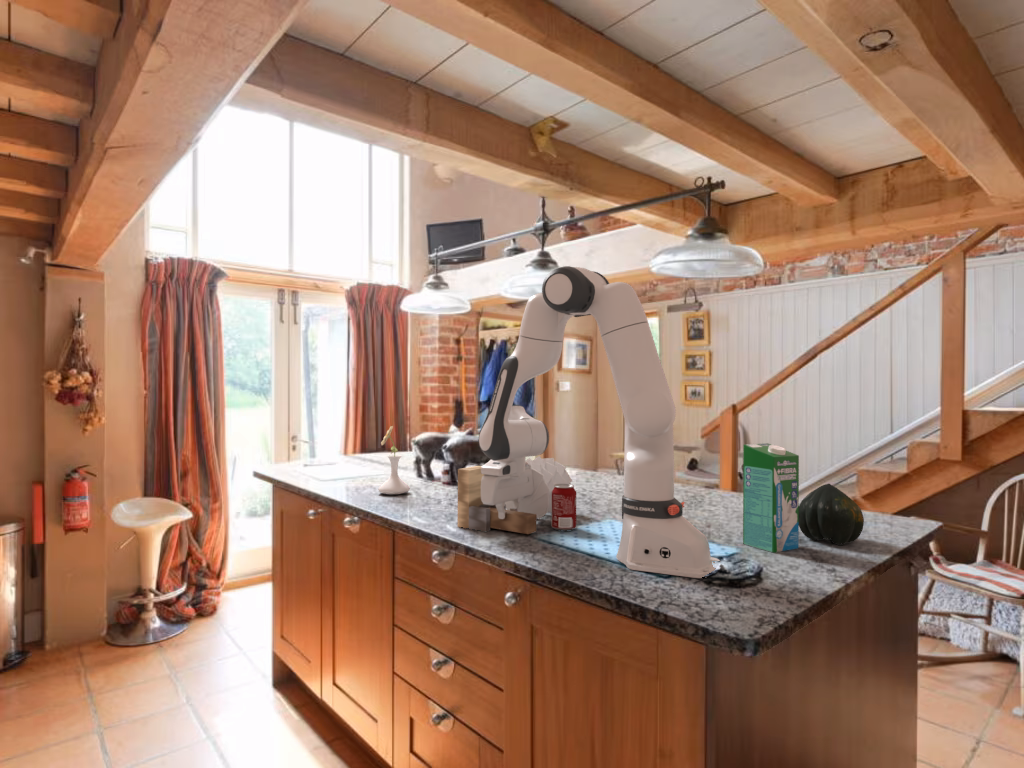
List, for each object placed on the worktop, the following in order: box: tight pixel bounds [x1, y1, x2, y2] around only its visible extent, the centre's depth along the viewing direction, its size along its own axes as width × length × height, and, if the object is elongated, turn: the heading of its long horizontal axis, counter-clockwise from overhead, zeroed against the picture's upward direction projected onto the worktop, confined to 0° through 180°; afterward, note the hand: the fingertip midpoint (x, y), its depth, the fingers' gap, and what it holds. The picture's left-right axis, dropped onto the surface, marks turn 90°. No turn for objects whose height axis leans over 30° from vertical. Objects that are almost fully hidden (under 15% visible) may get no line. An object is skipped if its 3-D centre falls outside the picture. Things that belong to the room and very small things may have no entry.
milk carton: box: [742, 442, 800, 554], centre depth 144 cm, size 9×9×25 cm
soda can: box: [551, 484, 577, 532], centre depth 161 cm, size 7×7×12 cm
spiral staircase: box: [505, 455, 573, 520], centre depth 177 cm, size 18×18×25 cm
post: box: [456, 465, 507, 532], centre depth 163 cm, size 10×9×16 cm
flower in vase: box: [377, 425, 411, 496], centre depth 212 cm, size 13×11×25 cm
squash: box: [799, 483, 865, 546], centre depth 151 cm, size 14×15×15 cm
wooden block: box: [479, 504, 538, 535], centre depth 158 cm, size 16×4×6 cm, turn 55°
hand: (508, 516), depth 158 cm, fingers closed on wooden block, 4 cm apart
